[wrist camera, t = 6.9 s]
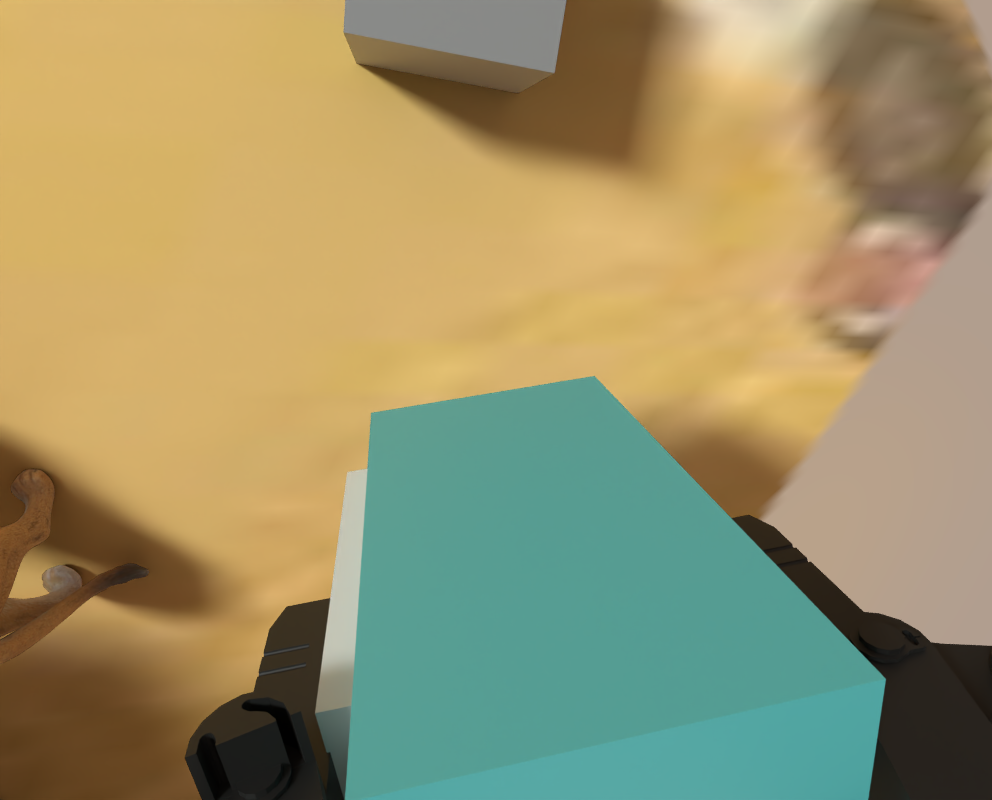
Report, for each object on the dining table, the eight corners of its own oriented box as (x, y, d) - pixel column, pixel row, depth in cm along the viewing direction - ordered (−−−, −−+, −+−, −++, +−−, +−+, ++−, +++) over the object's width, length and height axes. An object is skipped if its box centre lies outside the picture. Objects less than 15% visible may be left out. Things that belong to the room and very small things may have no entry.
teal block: (409, 600, 16) (433, 1106, 7) (371, 412, 14) (344, 802, 5) (605, 561, 16) (839, 990, 8) (594, 375, 14) (884, 678, 6)
